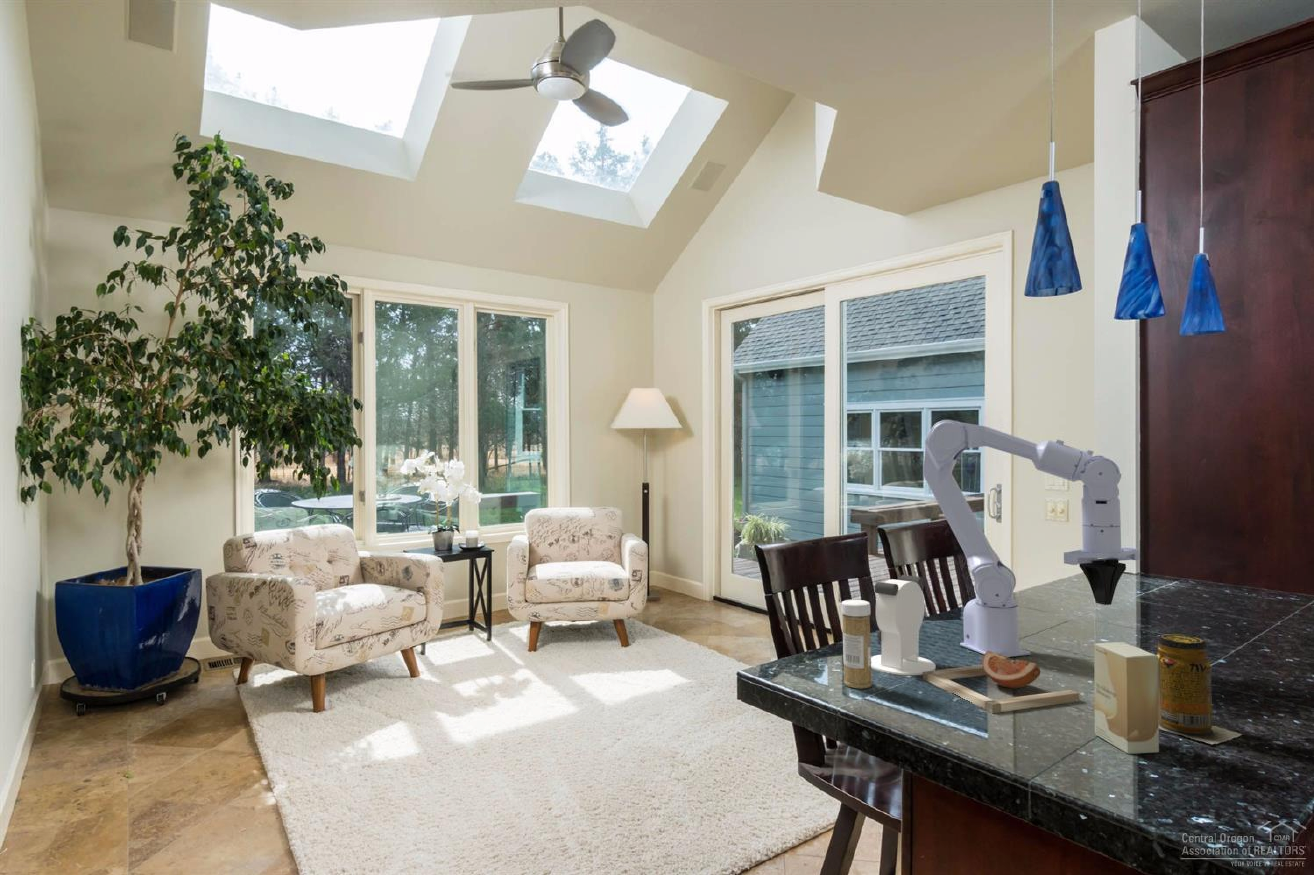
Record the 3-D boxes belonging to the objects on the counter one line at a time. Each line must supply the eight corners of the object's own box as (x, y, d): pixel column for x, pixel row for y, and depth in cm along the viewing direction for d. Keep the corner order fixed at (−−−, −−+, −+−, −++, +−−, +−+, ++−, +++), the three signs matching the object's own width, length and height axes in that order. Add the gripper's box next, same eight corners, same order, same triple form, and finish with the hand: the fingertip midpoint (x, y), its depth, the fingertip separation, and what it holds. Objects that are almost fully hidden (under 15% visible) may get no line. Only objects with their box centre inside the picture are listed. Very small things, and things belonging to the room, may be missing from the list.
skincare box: (1093, 735, 94) (1090, 642, 95) (1124, 733, 95) (1121, 640, 95) (1129, 755, 88) (1126, 655, 88) (1162, 753, 88) (1159, 654, 89)
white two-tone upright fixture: (888, 651, 134) (886, 571, 135) (948, 663, 126) (946, 578, 127) (855, 665, 126) (853, 580, 126) (917, 679, 118) (914, 588, 118)
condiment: (1172, 714, 101) (1169, 629, 101) (1242, 735, 93) (1239, 643, 94) (1141, 724, 98) (1138, 636, 98) (1211, 747, 90) (1208, 651, 90)
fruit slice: (1048, 691, 111) (1047, 659, 112) (1024, 700, 108) (1023, 666, 108) (998, 677, 119) (997, 647, 119) (973, 685, 115) (973, 654, 115)
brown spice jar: (878, 685, 115) (876, 602, 116) (859, 691, 113) (857, 605, 113) (856, 678, 119) (854, 597, 119) (837, 683, 117) (835, 601, 117)
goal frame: (922, 679, 118) (922, 671, 118) (1001, 669, 122) (1001, 662, 122) (992, 713, 103) (992, 704, 103) (1079, 700, 107) (1079, 692, 107)
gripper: (1087, 529, 119) (1089, 611, 119) (1155, 525, 123) (1157, 605, 123) (1053, 525, 126) (1055, 603, 126) (1118, 521, 130) (1120, 597, 129)
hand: (1103, 603), depth 125 cm, fingers closed
